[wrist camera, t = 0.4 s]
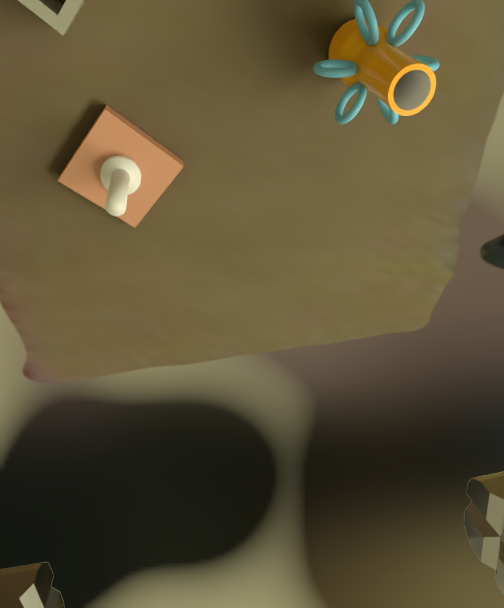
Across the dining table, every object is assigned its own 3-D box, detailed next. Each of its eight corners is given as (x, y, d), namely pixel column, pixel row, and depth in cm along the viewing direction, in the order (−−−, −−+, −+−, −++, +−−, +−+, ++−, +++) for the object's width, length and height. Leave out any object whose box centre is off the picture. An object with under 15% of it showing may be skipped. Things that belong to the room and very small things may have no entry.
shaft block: (106, 104, 49) (96, 137, 42) (183, 161, 54) (186, 198, 47) (59, 175, 53) (43, 215, 46) (135, 221, 58) (131, 264, 51)
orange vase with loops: (355, 125, 55) (406, 180, 43) (283, 78, 50) (318, 126, 39) (429, 21, 49) (510, 54, 37) (354, -43, 44) (420, -28, 33)
